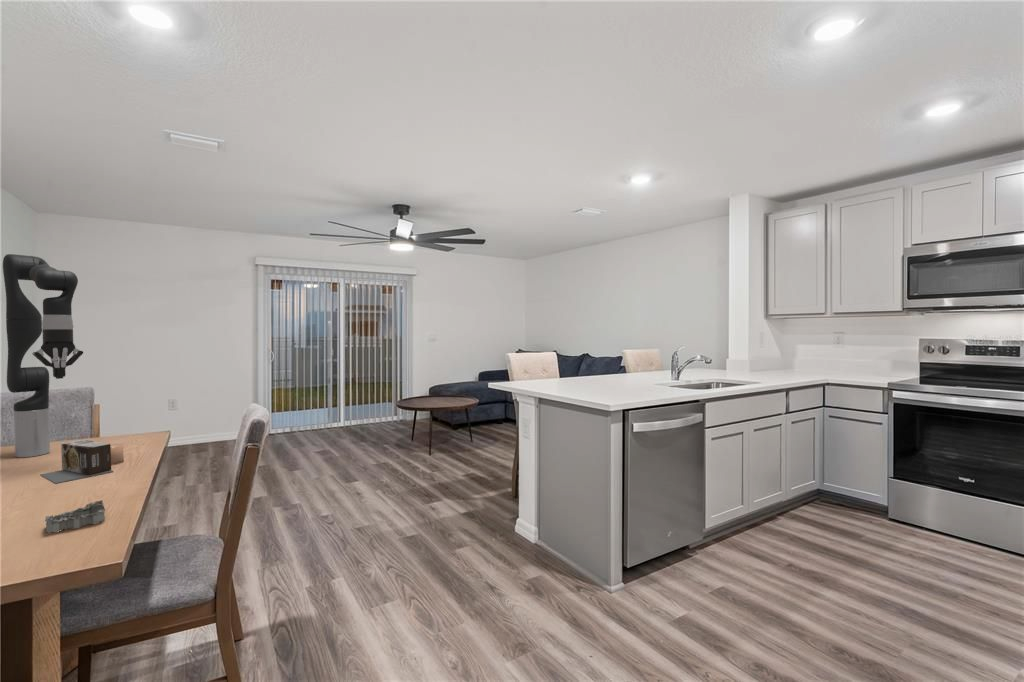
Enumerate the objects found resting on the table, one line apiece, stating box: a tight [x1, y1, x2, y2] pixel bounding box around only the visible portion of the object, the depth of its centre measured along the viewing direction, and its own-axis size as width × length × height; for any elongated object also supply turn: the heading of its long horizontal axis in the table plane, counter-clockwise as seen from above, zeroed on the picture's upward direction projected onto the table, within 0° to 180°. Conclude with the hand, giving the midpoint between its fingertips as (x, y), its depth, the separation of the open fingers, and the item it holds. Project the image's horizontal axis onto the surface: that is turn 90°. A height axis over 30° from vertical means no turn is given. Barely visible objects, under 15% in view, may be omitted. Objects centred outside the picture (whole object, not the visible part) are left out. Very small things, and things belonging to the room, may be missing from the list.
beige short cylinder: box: [110, 443, 125, 466], centre depth 164 cm, size 6×6×6 cm
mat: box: [40, 469, 114, 485], centre depth 152 cm, size 16×14×1 cm
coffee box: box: [60, 439, 112, 475], centre depth 154 cm, size 9×6×16 cm
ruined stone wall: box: [44, 500, 106, 533], centre depth 112 cm, size 11×8×4 cm
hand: (59, 378), depth 159 cm, fingers closed
